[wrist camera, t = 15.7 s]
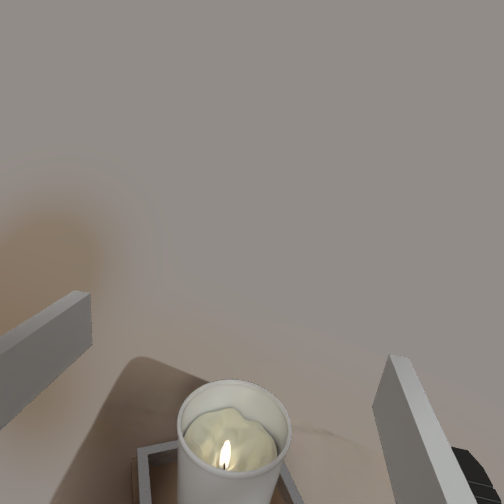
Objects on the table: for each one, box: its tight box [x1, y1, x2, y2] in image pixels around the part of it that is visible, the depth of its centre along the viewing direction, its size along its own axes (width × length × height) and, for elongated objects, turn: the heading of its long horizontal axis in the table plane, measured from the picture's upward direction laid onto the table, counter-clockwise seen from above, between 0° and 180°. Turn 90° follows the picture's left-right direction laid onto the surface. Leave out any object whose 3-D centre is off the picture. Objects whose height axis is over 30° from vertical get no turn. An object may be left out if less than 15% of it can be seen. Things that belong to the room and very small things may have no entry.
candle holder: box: [177, 379, 292, 504], centre depth 30 cm, size 10×10×12 cm
